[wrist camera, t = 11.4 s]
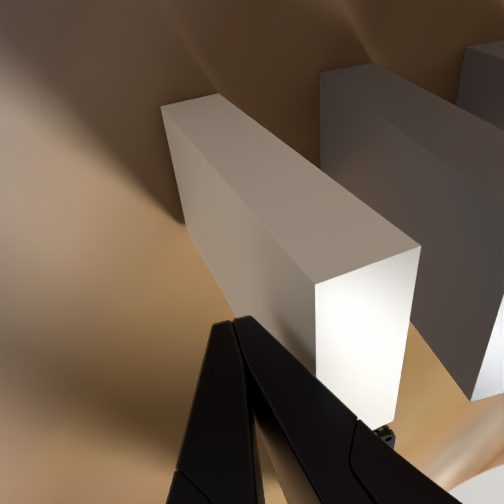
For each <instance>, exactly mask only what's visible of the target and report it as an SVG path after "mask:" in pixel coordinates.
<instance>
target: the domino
mask: <svg viewBox="0 0 504 504" xmlns="http://www.w3.org/2000/svg"><path fill="white" fill-rule="evenodd" d="M319 112H320V170H321V171H322V172H324V173H325V174H326V175H328V176H329V177H330V178H332V179H333V180H334V181H336V182H337V183H338V184H340V185H341V186H342V187H344V188H345V189H346V190H348V191H349V192H350V193H352V194H353V195H354V196H356V197H357V198H358V199H360V200H361V201H362V202H364V203H365V204H366V205H368V206H369V207H370V208H372V209H373V210H374V211H376V212H377V213H378V214H380V215H381V216H382V217H384V218H385V219H386V220H388V221H389V222H390V223H392V224H393V225H394V226H396V227H397V228H398V229H400V230H401V231H402V232H404V233H405V234H406V235H408V236H409V237H410V238H412V239H413V240H414V241H415V242H417V243H418V244H419V245H421V250H420V256H419V262H418V269H417V275H416V281H415V288H414V294H413V300H412V306H411V313H410V319H409V320H410V321H411V322H412V324H413V325H414V326H415V328H416V329H417V330H418V332H419V333H420V334H421V336H422V337H423V339H424V340H425V341H426V343H427V344H428V345H429V347H430V348H431V349H432V351H433V352H434V353H435V355H436V356H437V358H438V359H439V360H440V362H441V363H442V364H443V366H444V367H445V368H446V370H447V371H448V372H449V374H450V375H451V376H452V378H453V379H454V381H455V382H456V383H457V385H458V386H459V387H460V389H461V390H462V391H463V393H464V394H465V395H466V397H467V398H468V400H469V401H470V402H472V401H475V400H479V399H482V398H486V397H490V396H493V395H497V394H500V393H504V131H503V130H501V129H499V128H498V127H496V126H494V125H492V124H490V123H488V122H486V121H484V120H482V119H480V118H478V117H477V116H475V115H473V114H471V113H469V112H467V111H465V110H463V109H461V108H459V107H458V106H456V105H454V104H452V103H450V102H448V101H446V100H444V99H442V98H440V97H439V96H437V95H435V94H433V93H431V92H429V91H427V90H425V89H423V88H421V87H419V86H418V85H416V84H414V83H412V82H410V81H408V80H406V79H404V78H402V77H400V76H399V75H397V74H395V73H393V72H391V71H389V70H387V69H385V68H383V67H381V66H380V65H378V64H376V63H368V64H362V65H357V66H351V67H345V68H339V69H333V70H328V71H322V72H319Z"/></svg>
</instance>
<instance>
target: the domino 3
mask: <svg viewBox="0 0 504 504" xmlns="http://www.w3.org/2000/svg"><path fill="white" fill-rule="evenodd" d="M456 106H458V107H459V108H461V109H463V110H465V111H467V112H469V113H471V114H473V115H475V116H477V117H478V118H480V119H482V120H484V121H486V122H488V123H490V124H492V125H494V126H496V127H498V128H499V129H501V130H503V131H504V40H500V41H494V42H489V43H483V44H477V45H471V46H466V47H465V52H464V58H463V64H462V70H461V76H460V81H459V87H458V93H457V99H456Z"/></svg>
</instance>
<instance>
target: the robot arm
mask: <svg viewBox="0 0 504 504" xmlns="http://www.w3.org/2000/svg"><path fill="white" fill-rule="evenodd" d="M253 414H254V415H253ZM254 417H255V420H256V423H257V426H258V429H259V432H260V434H261V437H262V439H263V442H264V444H265V447H266V450H267V452H268V455H269V457H270V460H271V462H272V465H273V468H274V470H275V473H276V475H277V478H278V480H279V483H280V486H281V488H282V491H283V493H284V496H285V498H286V501H287V503H288V504H462V503H461V502H460V501H458V500H457V499H456V498H454V497H453V496H452V495H450V494H449V493H448V492H447V491H445V490H444V489H443V488H441V487H440V486H439V485H437V484H436V483H435V482H433V481H432V480H431V479H430V478H428V477H427V476H426V475H424V474H423V473H422V472H420V471H419V470H418V469H417V468H415V467H414V466H413V465H412V464H410V463H409V462H408V461H407V460H405V459H404V458H403V457H402V456H400V455H399V454H398V453H397V452H396V451H395V450H394V444H395V434H394V432H393V431H392V430H391V429H386V430H383V431H379V432H376V433H374V432H373V431H372V430H371V429H370V428H369V427H368V426H367V425H366V424H365V423H364V422H363V421H362V420H361V419H358V417H357V416H356V415H355V414H354V413H353V412H352V411H351V410H350V409H349V408H348V407H347V406H346V405H345V404H344V403H343V402H342V401H341V400H340V399H339V398H338V397H337V396H335V395H334V394H333V393H332V392H331V391H330V390H329V389H328V388H327V387H326V386H325V385H324V384H323V383H322V382H321V381H320V380H319V379H318V378H317V377H316V376H315V375H313V374H312V373H311V372H310V371H309V370H308V369H307V368H306V367H305V366H304V365H303V364H302V363H301V362H300V361H299V360H298V359H297V358H296V357H295V356H294V355H293V354H291V353H290V352H289V351H288V350H287V349H286V348H285V347H284V346H283V345H282V344H281V343H280V342H279V341H278V340H277V339H276V338H275V337H274V336H273V335H272V334H271V333H269V332H268V331H267V330H266V329H265V328H264V327H263V326H262V325H261V324H260V323H259V322H258V321H257V320H256V319H255V318H254V317H252V316H251V315H247V316H243V317H239V318H235V319H234V320H233V321H230V320H227V321H222V322H218V323H215V324H213V325H212V327H211V331H210V335H209V339H208V343H207V346H206V350H205V354H204V358H203V362H202V366H201V370H200V374H199V378H198V382H197V386H196V389H195V393H194V397H193V401H192V405H191V409H190V413H189V417H188V421H187V425H186V429H185V433H184V436H183V440H182V444H181V448H180V452H179V456H178V460H177V464H176V470H177V471H175V472H174V475H173V479H172V483H171V486H170V490H169V494H168V497H167V501H166V504H265V498H264V490H263V482H262V474H261V466H260V458H259V450H258V442H257V434H256V427H255V420H254Z"/></svg>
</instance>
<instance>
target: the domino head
mask: <svg viewBox="0 0 504 504" xmlns="http://www.w3.org/2000/svg"><path fill="white" fill-rule="evenodd" d="M160 107H161V112H162V117H163V121H164V126H165V130H166V135H167V140H168V144H169V149H170V154H171V158H172V163H173V168H174V172H175V177H176V181H177V186H178V191H179V195H180V200H181V205H182V209H183V214H184V219H185V223H186V228H187V232H188V235H189V237H190V239H191V240H192V242H193V244H194V246H195V247H196V249H197V251H198V252H199V254H200V256H201V258H202V259H203V261H204V263H205V265H206V266H207V268H208V270H209V271H210V273H211V275H212V277H213V278H214V280H215V282H216V283H217V285H218V287H219V289H220V290H221V292H222V294H223V295H224V297H225V299H226V301H227V302H228V304H229V306H230V308H231V309H232V311H233V313H234V314H235V316H236V318H239V317H243V316H247V315H251V316H252V317H254V318H255V319H256V320H257V321H258V322H259V323H260V324H261V325H262V326H263V327H264V328H265V329H266V330H267V331H268V332H269V333H271V334H272V335H273V336H274V337H275V338H276V339H277V340H278V341H279V342H280V343H281V344H282V345H283V346H284V347H285V348H286V349H287V350H288V351H289V352H290V353H291V354H293V355H294V356H295V357H296V358H297V359H298V360H299V361H300V362H301V363H302V364H303V365H304V366H305V367H306V368H307V369H308V370H309V371H310V372H311V373H312V374H313V375H315V376H316V377H317V378H318V379H319V380H320V381H321V382H322V383H323V384H324V385H325V386H326V387H327V388H328V389H329V390H330V391H331V392H332V393H333V394H334V395H335V396H337V397H338V398H339V399H340V400H341V401H342V402H343V403H344V404H345V405H346V406H347V407H348V408H349V409H350V410H351V411H352V412H353V413H354V414H355V415H356V416H357V417H358V419H361V420H362V421H363V422H364V423H365V424H366V425H367V426H368V427H369V428H370V429H371V430H372V431H373V430H375V429H377V428H379V427H381V426H383V425H385V424H387V423H389V422H391V421H393V420H394V413H395V407H396V401H397V395H398V388H399V382H400V376H401V369H402V363H403V357H404V350H405V344H406V338H407V332H408V325H409V319H410V313H411V306H412V300H413V294H414V288H415V281H416V275H417V269H418V262H419V256H420V250H421V245H419V244H418V243H417V242H415V241H414V240H413V239H412V238H410V237H409V236H408V235H406V234H405V233H404V232H402V231H401V230H400V229H398V228H397V227H396V226H394V225H393V224H392V223H390V222H389V221H388V220H386V219H385V218H384V217H382V216H381V215H380V214H378V213H377V212H376V211H374V210H373V209H372V208H370V207H369V206H368V205H366V204H365V203H364V202H362V201H361V200H360V199H358V198H357V197H356V196H354V195H353V194H352V193H350V192H349V191H348V190H346V189H345V188H344V187H342V186H341V185H340V184H338V183H337V182H336V181H334V180H333V179H332V178H330V177H329V176H328V175H326V174H325V173H324V172H322V171H321V170H320V169H318V168H317V167H316V166H314V165H313V164H312V163H310V162H309V161H308V160H306V159H305V158H304V157H303V156H301V155H300V154H299V153H297V152H296V151H295V150H293V149H292V148H291V147H289V146H288V145H287V144H285V143H284V142H283V141H281V140H280V139H279V138H277V137H276V136H275V135H273V134H272V133H271V132H269V131H268V130H267V129H265V128H264V127H263V126H261V125H260V124H259V123H257V122H256V121H255V120H253V119H252V118H251V117H249V116H248V115H247V114H245V113H244V112H243V111H241V110H240V109H239V108H237V107H236V106H235V105H233V104H232V103H231V102H229V101H228V100H227V99H225V98H224V97H223V96H221V95H220V94H219V93H217V94H213V95H208V96H204V97H200V98H195V99H191V100H186V101H182V102H177V103H173V104H169V105H164V106H160Z"/></svg>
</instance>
